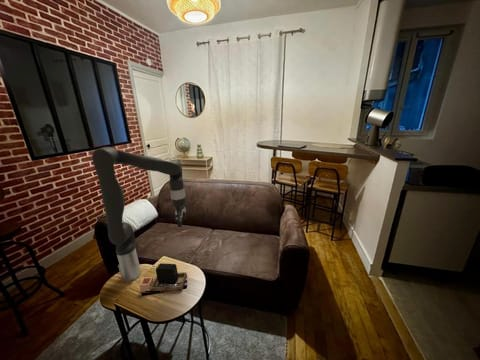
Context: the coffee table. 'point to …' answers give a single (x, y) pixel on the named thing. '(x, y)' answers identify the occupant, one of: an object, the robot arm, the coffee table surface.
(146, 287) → the orange open cube box
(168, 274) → the electronic device
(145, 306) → the coffee table surface
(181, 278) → the trough
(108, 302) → the coffee table surface
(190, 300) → the coffee table surface
